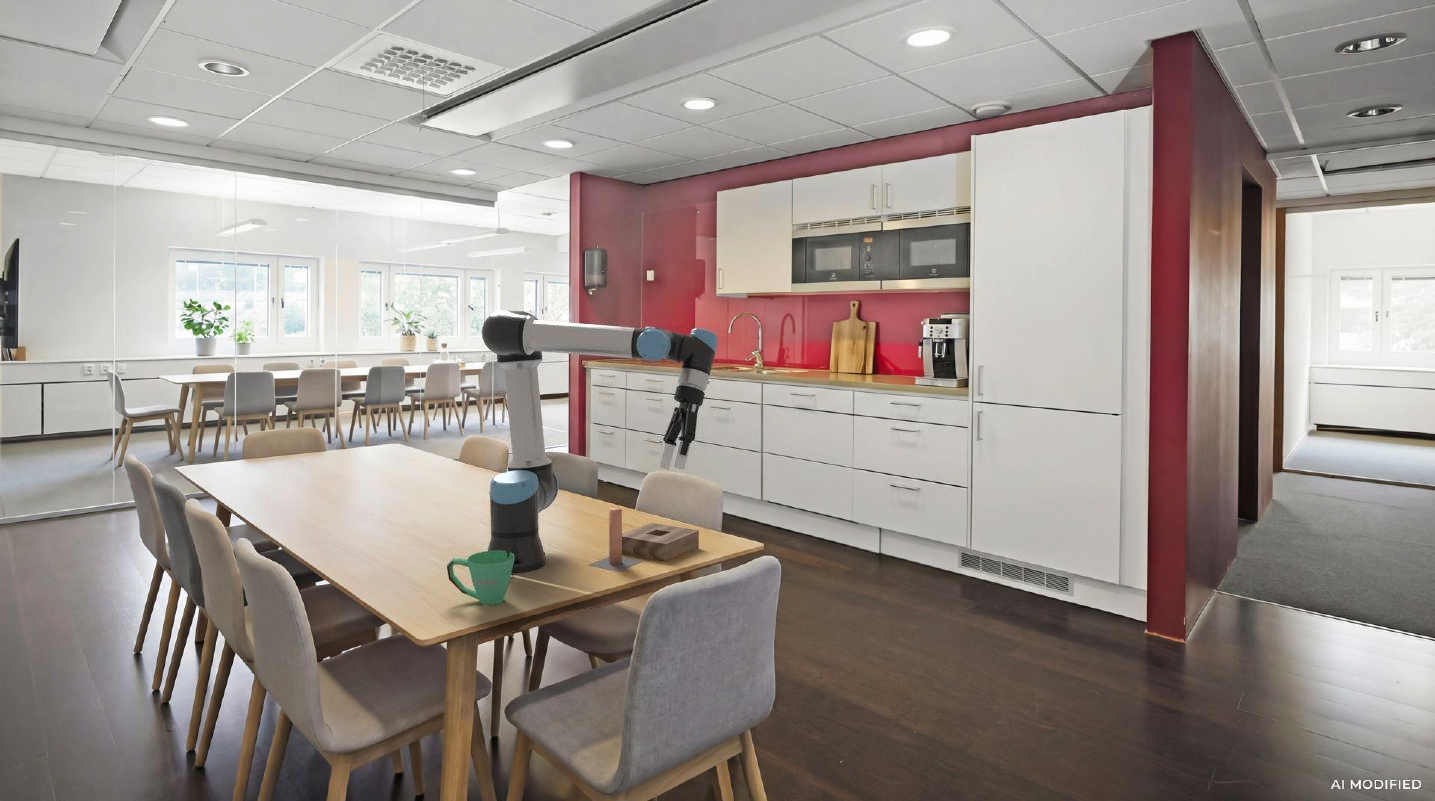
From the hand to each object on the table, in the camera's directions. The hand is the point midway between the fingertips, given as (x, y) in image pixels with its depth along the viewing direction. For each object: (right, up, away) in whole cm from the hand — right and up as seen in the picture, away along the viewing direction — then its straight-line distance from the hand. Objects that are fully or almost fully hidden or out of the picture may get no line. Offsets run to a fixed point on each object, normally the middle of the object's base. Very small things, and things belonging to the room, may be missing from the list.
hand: (670, 468), depth 188 cm
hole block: (-4, -24, +14) cm, 28 cm away
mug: (-40, -27, -25) cm, 54 cm away
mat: (-14, -25, +2) cm, 29 cm away
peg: (-14, -24, +2) cm, 28 cm away
